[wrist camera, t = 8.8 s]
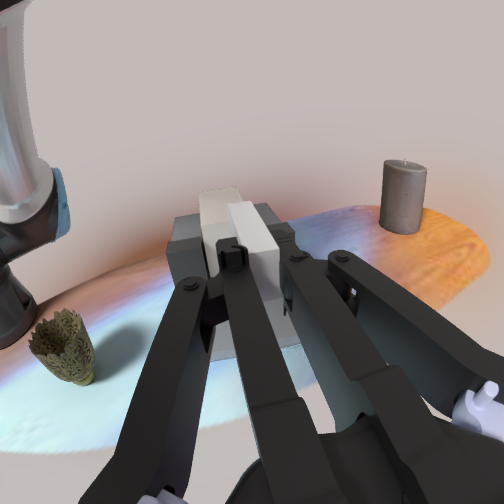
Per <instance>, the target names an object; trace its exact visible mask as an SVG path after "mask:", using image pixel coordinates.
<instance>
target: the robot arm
mask: <svg viewBox="0 0 504 504" xmlns="http://www.w3.org/2000/svg"><path fill="white" fill-rule="evenodd" d="M32 1H33V0H0V349H3V348H5V347H7V346H9V345H11V344H12V343H14V342H15V341H16V340H17V339H19V338H20V337H21V336H22V335H23V334H24V333H25V332H26V331H27V330H28V328H29V327H30V326H31V324H32V323H33V321H34V319H35V317H36V314H37V304H36V302H35V300H34V298H33V296H32V295H31V294H30V292H29V291H28V290H27V289H26V288H25V287H24V286H23V285H22V284H21V283H20V282H19V281H18V279H17V278H16V277H15V276H14V275H13V274H12V272H11V270H10V267H9V265H8V263H9V262H11V261H13V260H15V259H17V258H19V257H21V256H23V255H25V254H27V253H29V252H31V251H33V250H35V249H37V248H39V247H41V246H43V245H45V244H48V243H50V242H55V241H56V240H57V239H58V238H60V237H62V236H64V235H65V234H67V232H68V231H69V229H70V214H69V207H68V204H67V196H66V191H65V186H64V182H63V178H62V174H61V172H60V170H59V169H58V168H50V166H49V164H48V163H47V162H46V161H44V160H43V159H40V158H39V157H38V153H37V149H36V145H35V140H34V135H33V130H32V125H31V119H30V113H29V107H28V100H27V92H26V83H25V71H24V53H23V25H24V23H23V22H24V11H25V9H26V8H27V6H28V5H29V4H30V3H31V2H32ZM228 213H229V221H230V229H231V238H224V239H218V241H217V242H216V244H215V246H216V252H217V259H218V265H219V272H218V274H217V275H216V276H215V277H213V278H212V279H210V280H207V281H205V279H204V278H202V277H199V276H191V277H187V278H184V279H182V280H181V281H179V282H178V283H177V285H176V287H175V289H174V291H173V294H172V296H171V298H170V301H169V303H168V306H167V308H166V310H165V313H164V315H163V318H162V320H161V323H160V325H159V328H158V330H157V333H156V335H155V338H154V340H153V343H152V345H151V348H150V351H149V353H148V356H147V358H146V361H145V364H144V366H143V369H142V372H141V375H140V377H139V380H138V383H137V386H136V388H135V391H134V394H133V397H132V400H131V403H130V406H129V409H128V412H127V415H126V418H125V421H124V424H123V427H122V430H121V433H120V436H119V439H118V443H117V446H116V449H115V452H114V455H113V457H112V458H111V459H110V461H109V462H108V463H107V465H106V466H105V467H104V468H103V470H102V471H101V472H100V474H99V475H98V476H97V478H96V479H95V480H94V481H93V483H92V484H91V485H90V487H89V488H88V489H87V491H86V492H85V493H84V495H83V496H82V497H81V498H80V500H79V502H78V504H188V503H187V502H186V501H184V500H183V497H184V494H185V491H186V488H187V486H188V482H189V477H190V473H191V467H192V461H193V454H194V449H195V443H196V437H197V431H198V425H199V419H200V413H201V408H202V402H203V397H204V391H205V386H206V380H207V375H208V369H209V364H210V359H211V353H212V348H213V343H214V338H215V332H216V325H218V324H221V323H223V322H225V321H227V320H229V324H230V329H231V334H232V339H233V344H234V349H235V353H236V358H237V363H238V367H239V372H240V377H241V381H242V386H243V390H244V394H245V399H246V403H247V407H248V412H249V416H250V420H251V423H252V428H253V432H254V436H255V440H256V445H257V449H258V453H259V457H260V458H259V459H257V460H256V461H255V462H253V463H252V464H251V465H250V466H249V467H248V468H247V470H246V471H245V472H244V473H243V475H242V476H241V478H240V480H239V482H238V483H237V485H236V486H235V488H234V490H233V491H232V493H231V495H230V496H229V498H228V499H227V501H226V503H225V504H504V357H503V356H500V355H498V354H496V353H494V352H491V351H489V350H487V349H484V348H482V347H481V346H480V345H479V344H478V343H476V342H475V341H474V340H473V339H471V338H470V337H469V336H467V335H466V334H465V333H464V332H462V331H461V330H460V329H459V328H457V327H456V326H455V325H453V324H452V323H451V322H449V321H448V320H447V319H445V318H444V317H443V316H441V315H440V314H439V313H437V312H436V311H435V310H433V309H432V308H431V307H429V306H428V305H427V304H425V303H424V302H423V301H421V300H420V299H418V298H417V297H416V296H414V295H413V294H411V293H410V292H409V291H407V290H406V289H404V288H403V287H402V286H400V285H399V284H397V283H396V282H394V281H393V280H391V279H390V278H389V277H387V276H386V275H384V274H383V273H381V272H380V271H378V270H377V269H375V268H374V267H372V266H371V265H369V264H368V263H366V262H365V261H363V260H362V259H360V258H359V257H357V256H356V255H354V254H353V253H351V252H349V251H345V250H337V251H333V252H331V253H330V254H329V255H328V260H316V259H313V258H312V256H311V255H310V254H309V253H308V252H305V251H302V250H299V248H298V247H297V245H296V244H295V243H294V241H293V240H292V238H290V236H289V234H288V233H287V232H285V231H284V230H282V229H278V230H271V231H269V230H268V229H267V227H266V225H265V224H264V222H263V220H262V219H261V217H260V215H259V214H258V212H257V210H256V209H255V207H254V205H253V204H252V202H251V201H247V202H239V203H232V204H228ZM352 288H353V289H354V290H356V295H354V294H352V293H351V291H352ZM281 291H282V293H283V313H284V316H286V311H287V313H288V315H289V317H290V319H291V322H292V324H293V326H294V328H295V330H296V333H297V335H298V337H299V339H300V342H301V344H302V346H303V349H304V351H305V353H306V355H307V358H308V360H309V362H310V364H311V367H312V369H313V371H314V373H315V376H316V378H317V380H318V383H319V385H320V387H321V389H322V392H323V394H324V396H325V398H326V401H327V403H328V405H329V408H330V410H331V412H332V414H333V417H334V420H335V429H336V433H326V434H318V433H317V431H316V428H315V425H314V423H313V420H312V418H311V415H310V413H309V410H308V408H307V405H306V403H305V401H304V400H303V398H302V397H299V396H298V395H297V392H296V390H295V387H294V384H293V382H292V379H291V376H290V374H289V371H288V368H287V366H286V363H285V360H284V358H283V355H282V352H281V350H280V347H279V344H278V342H277V339H276V336H275V333H274V331H273V328H272V325H271V323H270V320H269V317H268V315H267V312H266V309H265V306H264V304H263V301H267V300H272V299H277V298H281ZM386 363H387V364H388V365H387V364H386ZM420 395H421V396H422V397H423V398H424V399H425V400H426V401H427V402H428V403H429V404H430V405H431V406H433V407H434V408H435V409H436V410H438V411H439V412H441V413H442V414H444V415H445V416H447V417H449V418H451V419H453V420H452V422H451V423H450V422H448V421H445V420H443V419H440V418H438V417H435V416H433V415H432V414H431V412H430V410H429V409H428V407H427V405H426V404H425V402H424V401H423V399H422V398H421V396H420Z"/></svg>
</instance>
